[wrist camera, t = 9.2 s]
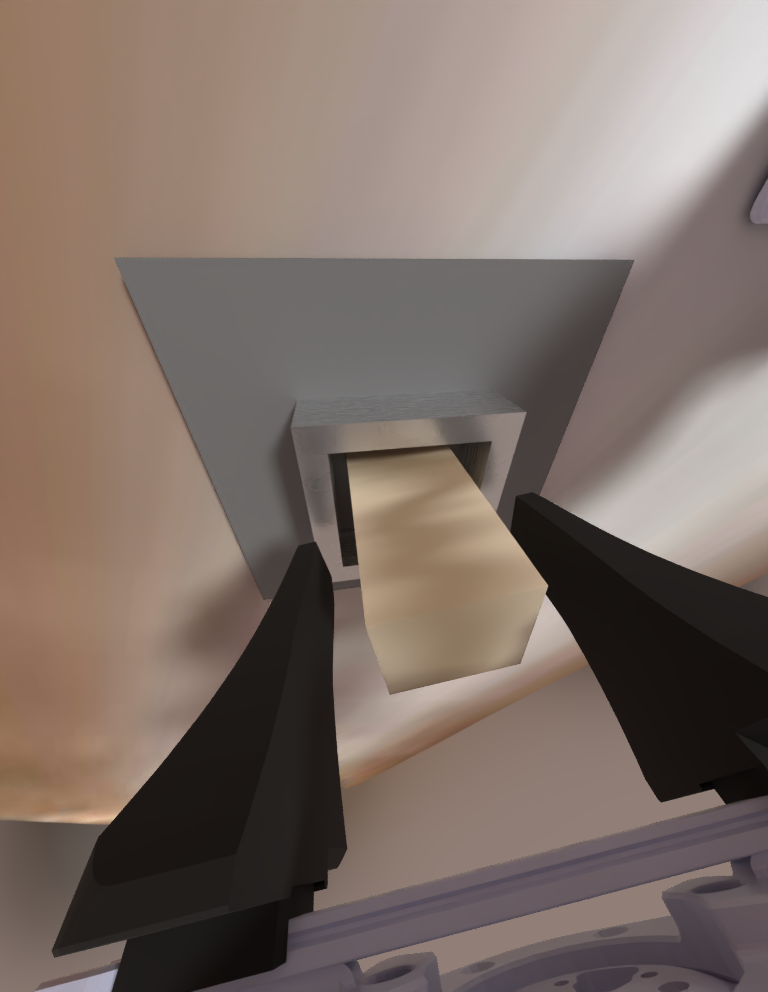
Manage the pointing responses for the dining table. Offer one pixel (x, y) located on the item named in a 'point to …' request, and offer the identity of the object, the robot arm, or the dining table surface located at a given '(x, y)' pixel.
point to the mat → (360, 362)
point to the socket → (397, 424)
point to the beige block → (437, 569)
